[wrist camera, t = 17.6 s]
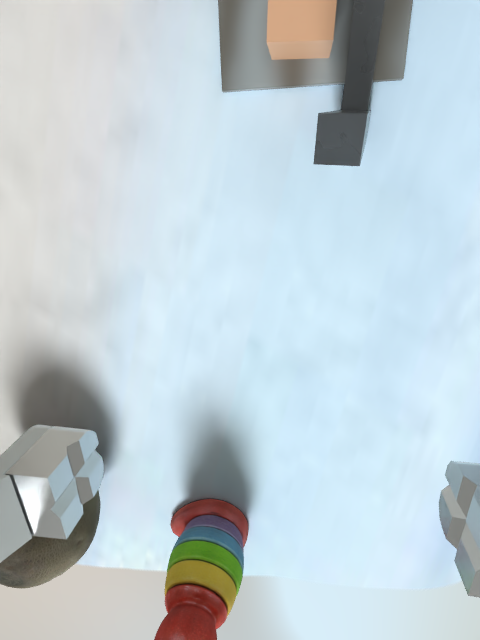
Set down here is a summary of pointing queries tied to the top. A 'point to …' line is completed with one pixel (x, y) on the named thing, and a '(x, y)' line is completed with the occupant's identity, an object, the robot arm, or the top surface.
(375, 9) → the hook tool
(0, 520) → the robot arm
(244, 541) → the stacking bear
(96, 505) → the cantaloupe
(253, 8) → the wooden tray
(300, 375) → the top surface
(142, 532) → the top surface
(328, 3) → the block
